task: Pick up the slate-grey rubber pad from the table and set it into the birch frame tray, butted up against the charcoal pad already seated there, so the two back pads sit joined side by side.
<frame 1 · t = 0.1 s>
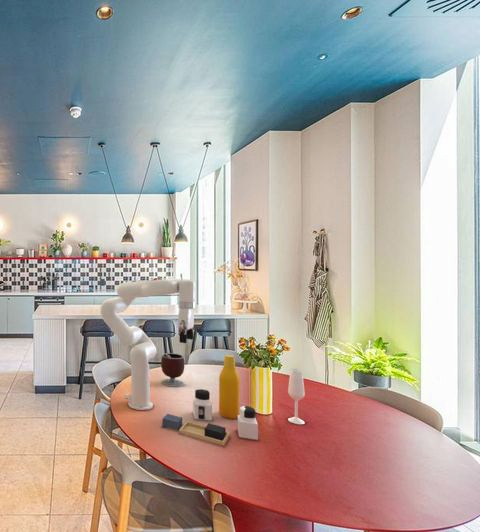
hand: (186, 340, 165), 37 cm above the table, tool pointing down, fingers open, 9 cm apart
champagne flute: (296, 421, 162), on the table
medicine bottle: (247, 436, 147), on the table
frame: (204, 435, 147), on the table
pad a: (215, 437, 145), point 1 cm above the table, touching frame
container: (202, 417, 165), on the table
pad b: (172, 426, 155), on the table
mate gourd: (171, 384, 212), on the table
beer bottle: (229, 415, 168), on the table
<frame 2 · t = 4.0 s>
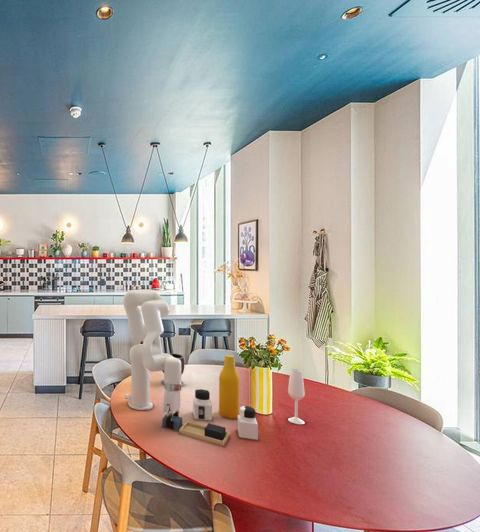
hand: (172, 425, 155), 1 cm above the table, tool pointing down, fingers closed on pad b, 6 cm apart
pad b: (172, 426, 155), on the table, touching gripper
everything else where it was.
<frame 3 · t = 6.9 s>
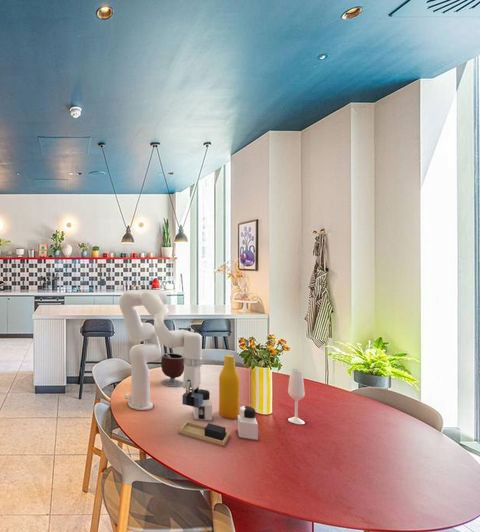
hand: (192, 402, 150), 13 cm above the table, tool pointing down, fingers closed on pad b, 6 cm apart
pad b: (192, 403, 150), point 13 cm above the table, touching gripper
everything else where it was.
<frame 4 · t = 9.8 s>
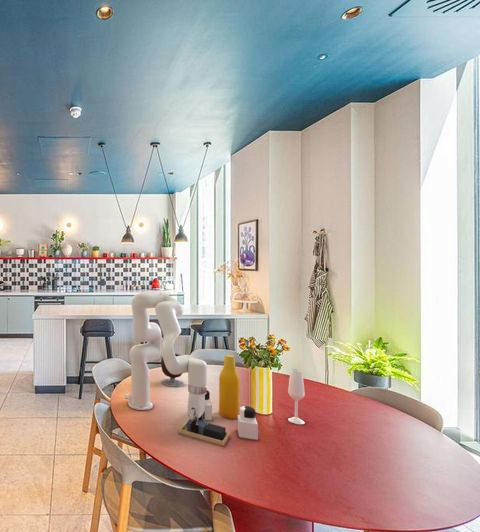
hand: (196, 429, 149), 2 cm above the table, tool pointing down, fingers closed on pad b, 6 cm apart
pad b: (196, 431, 149), point 1 cm above the table, touching gripper
everything else where it was.
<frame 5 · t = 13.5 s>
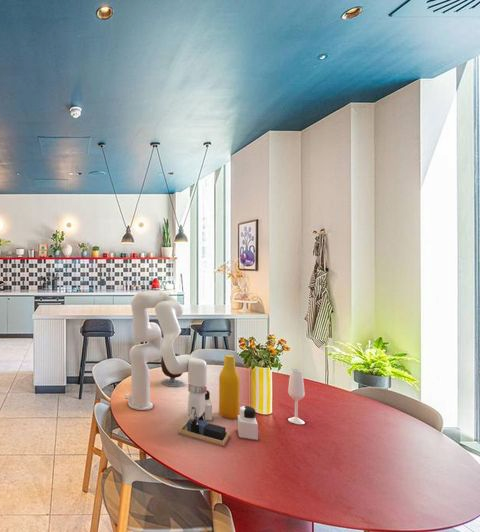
hand: (197, 429, 149), 2 cm above the table, tool pointing down, fingers closed on pad b, 5 cm apart
pad b: (197, 431, 149), point 1 cm above the table, touching gripper
everything else where it was.
when the fingers open (2 cm above the table, at t = 17.0 s): pad b moves 1 cm, resting on frame.
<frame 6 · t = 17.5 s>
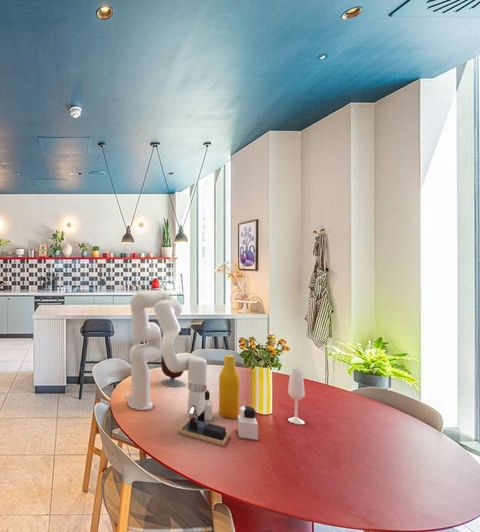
hand: (197, 425, 149), 3 cm above the table, tool pointing down, fingers open, 9 cm apart
pad b: (196, 432, 149), point 1 cm above the table, touching frame
everything else where it was.
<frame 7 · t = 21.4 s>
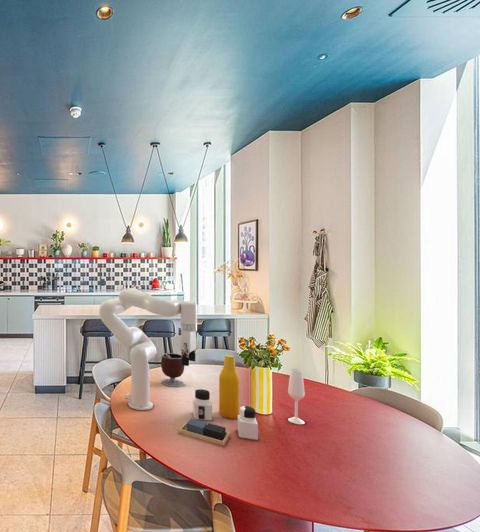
hand: (188, 363, 164), 26 cm above the table, tool pointing down, fingers open, 9 cm apart
nothing on the table moved.
at the end: pad b 0.1 cm from the target spot in the frame, point 0.6 cm above the frame's base; pad b 7.6 cm from the pad a (horizontally); pad a 0.0 cm from the target spot in the frame, point 0.6 cm above the frame's base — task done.
